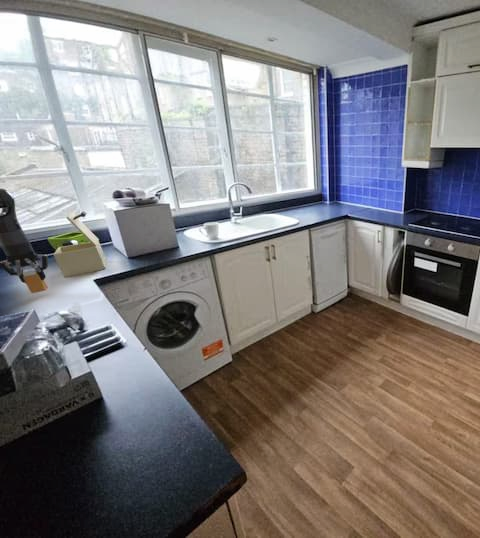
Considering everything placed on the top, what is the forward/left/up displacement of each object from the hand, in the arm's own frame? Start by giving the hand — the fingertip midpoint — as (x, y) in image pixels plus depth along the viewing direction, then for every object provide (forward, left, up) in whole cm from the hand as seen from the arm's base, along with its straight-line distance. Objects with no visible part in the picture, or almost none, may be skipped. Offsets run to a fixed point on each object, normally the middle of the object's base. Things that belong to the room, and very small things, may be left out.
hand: (34, 281), depth 121 cm
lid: (+17, +26, +13) cm, 34 cm away
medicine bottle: (+7, +42, -7) cm, 43 cm away
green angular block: (+6, +56, -7) cm, 57 cm away
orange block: (0, 0, -4) cm, 4 cm away
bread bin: (+12, +26, -7) cm, 30 cm away
